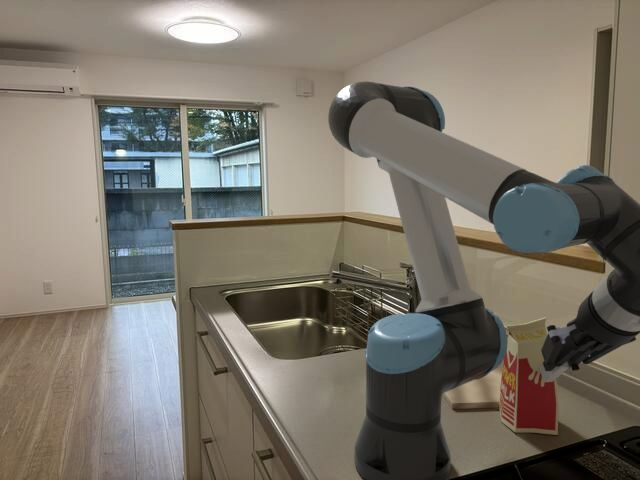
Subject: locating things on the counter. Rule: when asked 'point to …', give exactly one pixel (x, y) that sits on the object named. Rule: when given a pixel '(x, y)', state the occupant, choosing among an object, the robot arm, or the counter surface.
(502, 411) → the milk carton
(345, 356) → the counter surface
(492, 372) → the board
